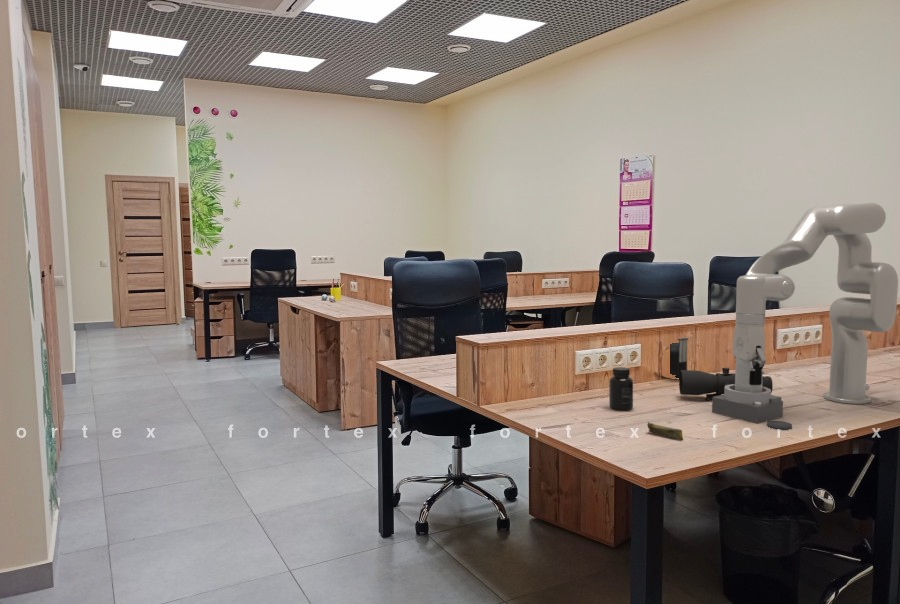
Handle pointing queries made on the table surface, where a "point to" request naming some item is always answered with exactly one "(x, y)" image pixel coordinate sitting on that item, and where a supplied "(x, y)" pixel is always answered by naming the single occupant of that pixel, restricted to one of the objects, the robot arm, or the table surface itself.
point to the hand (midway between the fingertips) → (748, 381)
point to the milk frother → (678, 357)
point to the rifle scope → (710, 382)
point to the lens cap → (779, 425)
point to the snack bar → (665, 431)
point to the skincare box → (745, 377)
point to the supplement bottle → (621, 390)
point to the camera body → (748, 405)
